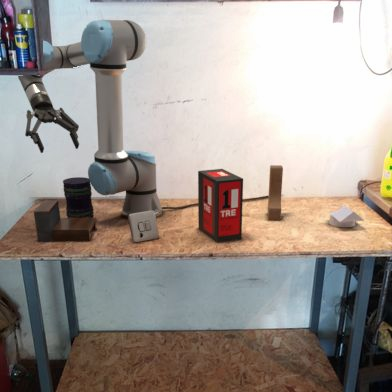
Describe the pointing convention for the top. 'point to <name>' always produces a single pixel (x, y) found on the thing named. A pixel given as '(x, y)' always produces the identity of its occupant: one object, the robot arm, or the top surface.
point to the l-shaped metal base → (60, 224)
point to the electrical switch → (143, 226)
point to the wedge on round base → (344, 217)
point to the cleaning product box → (220, 204)
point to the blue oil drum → (78, 197)
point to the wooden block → (275, 192)
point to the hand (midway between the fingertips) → (60, 148)
